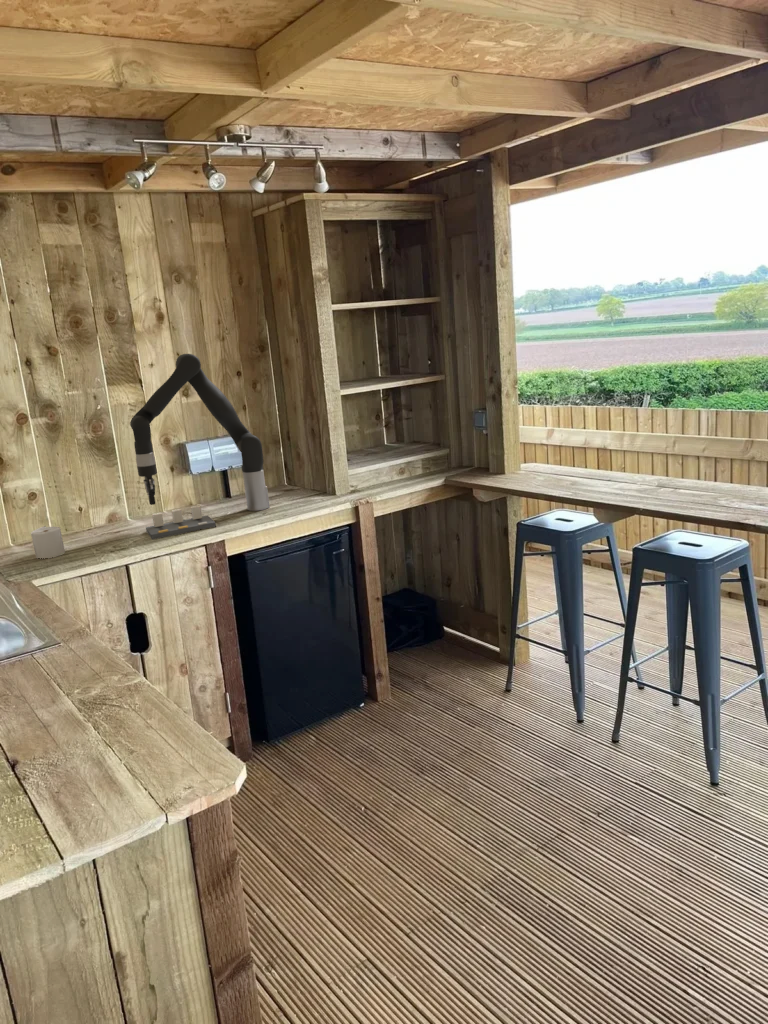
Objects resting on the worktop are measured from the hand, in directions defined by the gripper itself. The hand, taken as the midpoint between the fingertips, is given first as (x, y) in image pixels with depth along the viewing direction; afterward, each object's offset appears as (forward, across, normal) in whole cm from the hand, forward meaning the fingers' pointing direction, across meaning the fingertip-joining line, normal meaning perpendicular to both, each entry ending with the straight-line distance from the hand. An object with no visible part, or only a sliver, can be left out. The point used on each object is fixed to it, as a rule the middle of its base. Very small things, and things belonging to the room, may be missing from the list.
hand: (152, 504), depth 327 cm
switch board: (+10, -11, -8) cm, 17 cm away
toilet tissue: (+11, -10, +43) cm, 45 cm away
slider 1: (+8, -7, 0) cm, 10 cm away
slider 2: (+8, -7, -16) cm, 19 cm away
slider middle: (+8, -7, -8) cm, 13 cm away
